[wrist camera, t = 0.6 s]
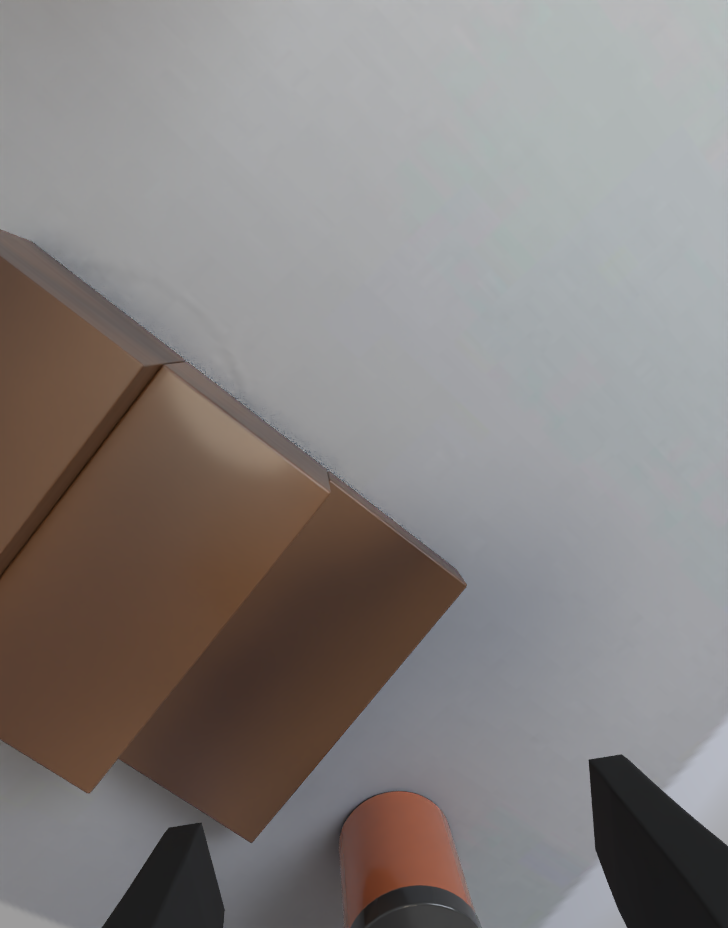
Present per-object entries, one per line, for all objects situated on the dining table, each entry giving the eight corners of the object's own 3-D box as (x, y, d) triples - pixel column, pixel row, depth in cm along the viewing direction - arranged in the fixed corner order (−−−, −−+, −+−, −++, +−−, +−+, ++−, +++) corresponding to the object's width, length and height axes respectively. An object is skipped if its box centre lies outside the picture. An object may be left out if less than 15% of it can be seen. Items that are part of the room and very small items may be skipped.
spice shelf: (457, 570, 23) (505, 640, 17) (254, 813, 24) (240, 952, 18) (30, 240, 20) (-73, 200, 14) (-183, 531, 21) (-355, 597, 15)
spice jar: (379, 911, 25) (397, 1053, 20) (314, 832, 24) (317, 958, 19) (473, 849, 24) (515, 975, 20) (411, 767, 24) (438, 877, 19)
